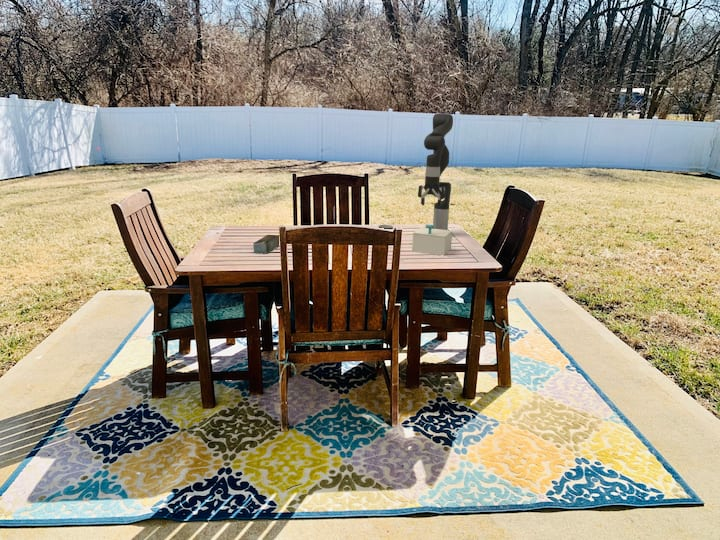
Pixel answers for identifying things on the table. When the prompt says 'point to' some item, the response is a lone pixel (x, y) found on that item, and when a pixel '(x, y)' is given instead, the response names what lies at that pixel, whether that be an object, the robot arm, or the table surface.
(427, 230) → the lid
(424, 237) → the box
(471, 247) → the table surface
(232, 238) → the table surface
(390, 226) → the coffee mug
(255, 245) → the beverage carton
